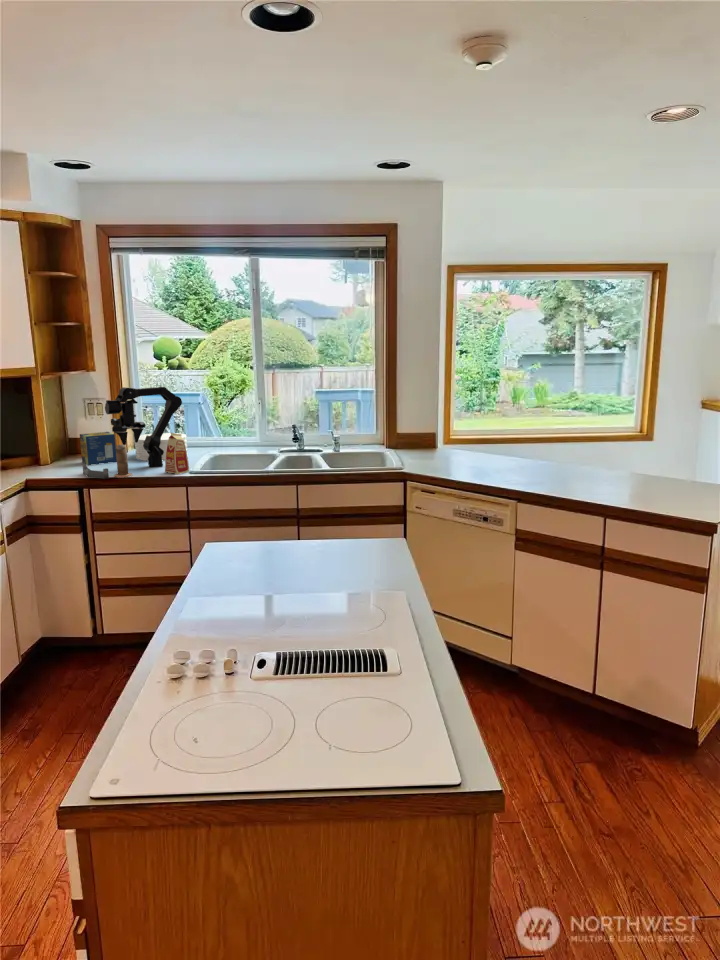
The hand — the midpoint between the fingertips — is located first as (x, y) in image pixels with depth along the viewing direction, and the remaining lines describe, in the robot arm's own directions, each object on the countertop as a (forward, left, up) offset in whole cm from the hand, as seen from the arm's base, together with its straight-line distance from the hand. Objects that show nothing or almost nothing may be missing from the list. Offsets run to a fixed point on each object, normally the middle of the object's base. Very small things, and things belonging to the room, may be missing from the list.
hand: (130, 443), depth 321 cm
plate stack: (-11, -36, -13) cm, 40 cm away
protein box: (+20, -24, -13) cm, 34 cm away
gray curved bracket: (+15, +14, -13) cm, 24 cm away
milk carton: (-23, +12, -13) cm, 29 cm away
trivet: (+2, +17, -13) cm, 21 cm away
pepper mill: (+2, +17, -12) cm, 21 cm away
